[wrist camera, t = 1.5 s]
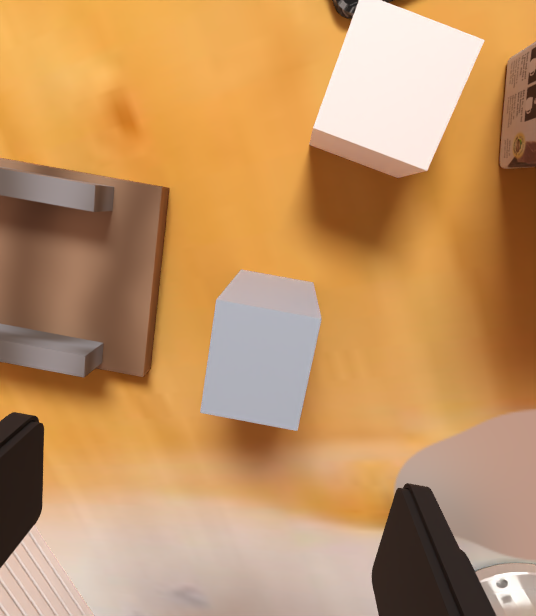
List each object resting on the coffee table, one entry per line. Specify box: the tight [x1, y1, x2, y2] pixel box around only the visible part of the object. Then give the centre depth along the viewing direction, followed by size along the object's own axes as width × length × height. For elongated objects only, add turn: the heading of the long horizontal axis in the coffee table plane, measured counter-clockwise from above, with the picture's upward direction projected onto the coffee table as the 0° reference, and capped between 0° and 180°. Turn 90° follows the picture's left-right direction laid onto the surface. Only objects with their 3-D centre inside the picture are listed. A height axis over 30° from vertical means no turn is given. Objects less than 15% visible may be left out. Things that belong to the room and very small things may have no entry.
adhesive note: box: [309, 0, 484, 178], centre depth 22 cm, size 6×6×6 cm
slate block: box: [200, 270, 321, 431], centre depth 24 cm, size 5×6×9 cm
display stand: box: [0, 158, 169, 377], centre depth 27 cm, size 16×13×4 cm
